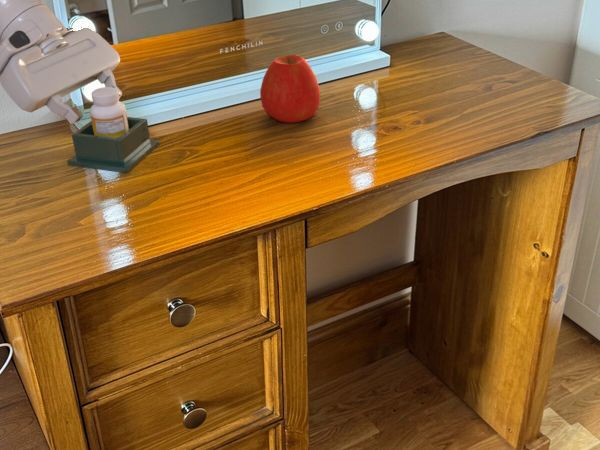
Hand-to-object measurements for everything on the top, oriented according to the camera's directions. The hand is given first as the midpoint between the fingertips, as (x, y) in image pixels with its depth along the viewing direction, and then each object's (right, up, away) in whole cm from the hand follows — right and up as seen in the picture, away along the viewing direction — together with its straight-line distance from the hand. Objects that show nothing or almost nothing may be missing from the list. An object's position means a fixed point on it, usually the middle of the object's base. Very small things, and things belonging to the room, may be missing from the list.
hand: (98, 109), depth 118 cm
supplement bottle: (+2, -6, +3) cm, 7 cm away
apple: (+30, +1, +15) cm, 33 cm away
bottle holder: (+2, -7, +3) cm, 8 cm away
